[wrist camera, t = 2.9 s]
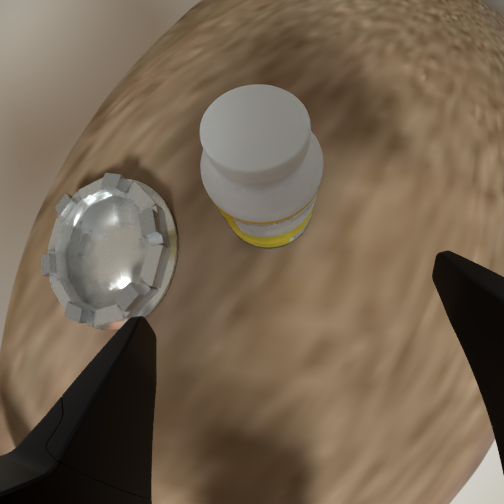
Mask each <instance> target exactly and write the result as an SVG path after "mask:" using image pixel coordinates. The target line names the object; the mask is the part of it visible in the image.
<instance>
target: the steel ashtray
mask: <svg viewBox="0 0 504 504" xmlns="http://www.w3.org/2000/svg"><path fill="white" fill-rule="evenodd" d="M55 209H56V211H57V212H58V214H59V215H58V218H59V219H58V218H57V219H56V222H55V225H54V228H53V232H52V235H51V239H50V242H49V246H48V250H50V251H48V252H47V254H45V255H43V256H41V267H42V276H47V277H49V278H50V284H52V285H51V287H52V289H53V291H54V293H55V294H56V296H57V298H58V300H59V301H60V303H61V305H62V306H63V308H64V310H65V316H66V317H68V318H70V319H72V320H74V321H76V322H78V323H86V324H87V325H89V326H92V327H94V328H97V329H102V330H117V329H120V328H121V327H122V326H123V325H124V324H125V322H126V321H127V320H128V319H129V318H130V317H134V316H143V317H145V318H146V317H147V316H148V315H149V314H150V313H151V312H152V311H154V310H155V308H156V307H157V306H158V305H159V303H160V302H161V301H162V299H163V297H164V296H165V294H166V293H167V290H168V288H169V286H170V284H171V282H172V279H173V276H174V273H175V268H176V264H177V257H178V236H177V229H176V225H175V221H174V218H173V216H172V213H171V211H170V209H169V207H168V206H167V204H166V202H165V201H164V200H163V199H162V197H161V196H160V195H159V194H158V193H157V192H155V191H154V190H153V189H152V188H151V187H149V186H147V185H146V184H144V183H142V182H139V181H136V180H131V179H126V178H125V177H124V176H122V175H121V174H112V173H105V175H104V177H103V178H101V179H99V180H97V181H95V182H93V183H91V184H89V185H87V186H85V187H83V188H81V189H79V192H76V193H75V194H74V196H71V195H69V194H67V193H66V194H65V195H64V197H63V198H62V199H61V200H60V202H59V203H58V204H57V206H56V207H55Z"/></svg>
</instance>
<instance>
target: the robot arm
mask: <svg viewBox="0 0 504 504" xmlns="http://www.w3.org/2000/svg"><path fill="white" fill-rule="evenodd" d="M432 277H433V282H434V284H435V286H436V289H437V291H438V293H439V296H440V298H441V301H442V303H443V306H444V308H445V311H446V313H447V316H448V318H449V320H450V323H451V325H452V327H453V329H454V331H455V333H456V335H457V337H458V339H459V342H460V344H461V346H462V348H463V350H464V353H465V355H466V357H467V359H468V362H469V364H470V367H471V369H472V371H473V374H474V376H475V379H476V381H477V384H478V387H479V389H480V392H481V395H482V398H483V400H484V403H485V406H486V409H487V412H488V415H489V418H490V422H491V425H492V429H493V432H494V436H495V440H496V443H497V447H498V451H499V455H500V459H501V464H502V469H503V474H504V277H502V276H501V275H499V274H497V273H495V272H493V271H491V270H489V269H487V268H485V267H483V266H481V265H479V264H476V263H474V262H472V261H470V260H468V259H466V258H464V257H462V256H460V255H457V254H455V253H453V252H451V251H443V252H440V253H438V254H437V255H436V258H435V264H434V268H433V273H432ZM155 395H156V335H155V333H154V331H153V330H152V328H151V326H150V325H149V323H148V322H147V320H146V319H145V317H143V316H134V317H130V318H129V319H128V320H127V321H126V322H125V324H124V325H123V326H122V327H121V328H120V329H119V330H118V331H117V332H116V334H115V335H114V336H113V337H112V338H111V339H110V340H109V341H108V343H107V344H106V345H105V346H104V347H103V348H102V349H101V351H100V352H99V353H98V354H97V355H96V356H95V357H94V359H93V360H92V361H91V362H90V363H89V364H88V365H87V367H86V368H85V369H84V370H83V371H82V372H81V374H80V375H79V376H78V377H77V378H76V380H75V381H74V382H73V383H72V384H71V386H70V387H69V388H68V389H67V390H66V392H65V393H64V394H63V395H62V397H60V399H59V400H58V401H57V402H56V404H55V405H54V406H53V407H52V408H51V410H50V411H49V412H48V413H47V414H46V416H45V417H44V418H43V419H42V420H41V421H40V422H39V423H38V424H37V425H36V427H35V428H34V429H33V430H32V431H31V432H30V433H29V434H28V435H27V436H26V437H25V438H24V439H23V441H22V442H21V443H20V444H19V445H18V446H17V447H16V448H15V449H14V450H12V451H11V452H9V453H7V454H5V455H2V456H0V504H152V501H151V470H152V440H153V422H154V407H155Z"/></svg>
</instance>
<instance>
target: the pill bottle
mask: <svg viewBox="0 0 504 504" xmlns="http://www.w3.org/2000/svg"><path fill="white" fill-rule="evenodd" d="M200 140H201V144H202V147H203V152H202V156H201V163H200V170H201V178H202V181H203V185H204V187H205V189H206V191H207V193H208V195H209V196H210V198H211V199H212V201H213V202H214V204H215V205H216V207H217V208H218V209H219V211H220V212H221V214H222V215H223V216H224V218H225V219H226V221H227V222H228V223H229V225H230V226H231V228H232V229H233V230H234V232H235V233H236V234H237V235H238V236H239V237H240V238H241V239H242V240H244V241H245V242H247V243H248V244H250V245H253V246H255V247H259V248H264V249H274V248H280V247H283V246H286V245H288V244H290V243H292V242H293V241H295V240H296V239H297V238H298V237H299V236H300V235H301V234H302V233H303V232H304V231H305V229H306V228H307V226H308V224H309V221H310V219H311V215H312V211H313V207H314V204H315V200H316V197H317V194H318V190H319V187H320V183H321V179H322V174H323V164H324V163H323V154H322V150H321V147H320V145H319V142H318V140H317V138H316V137H315V135H314V134H313V132H312V131H311V124H310V118H309V115H308V112H307V110H306V108H305V106H304V105H303V104H302V102H301V101H300V100H299V99H298V98H297V97H295V96H294V95H293V94H291V93H289V92H288V91H286V90H284V89H281V88H278V87H275V86H271V85H264V84H252V85H246V86H241V87H238V88H235V89H232V90H230V91H228V92H226V93H224V94H223V95H221V96H220V97H218V98H217V99H216V100H215V101H214V102H213V103H212V104H211V105H210V106H209V107H208V108H207V110H206V112H205V113H204V115H203V117H202V120H201V124H200Z"/></svg>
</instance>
